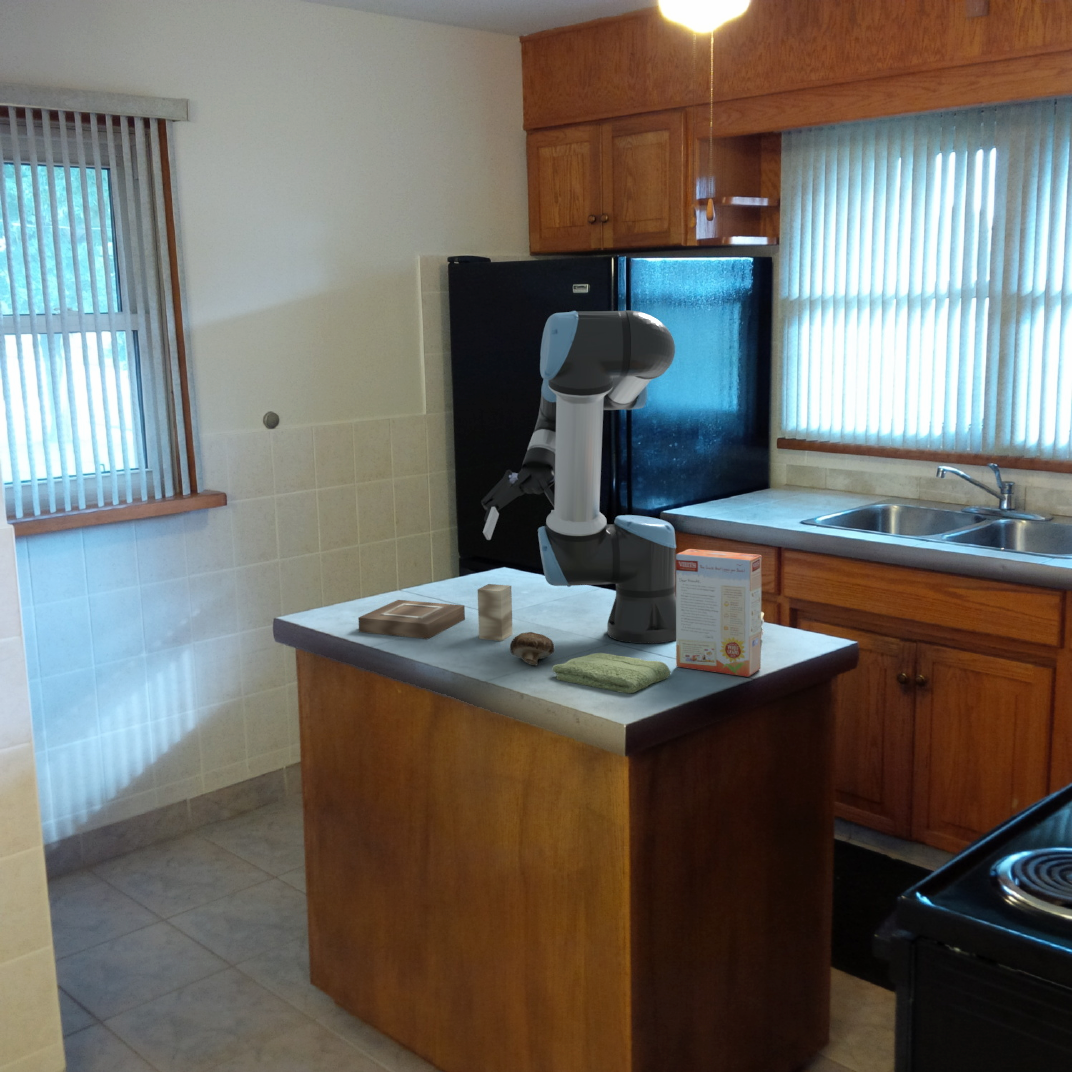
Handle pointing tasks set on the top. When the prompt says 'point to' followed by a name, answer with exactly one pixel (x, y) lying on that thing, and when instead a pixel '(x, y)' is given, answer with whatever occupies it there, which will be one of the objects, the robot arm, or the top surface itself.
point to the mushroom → (531, 647)
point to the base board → (412, 619)
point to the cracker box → (718, 611)
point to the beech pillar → (495, 612)
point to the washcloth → (612, 672)
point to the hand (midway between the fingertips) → (516, 538)
